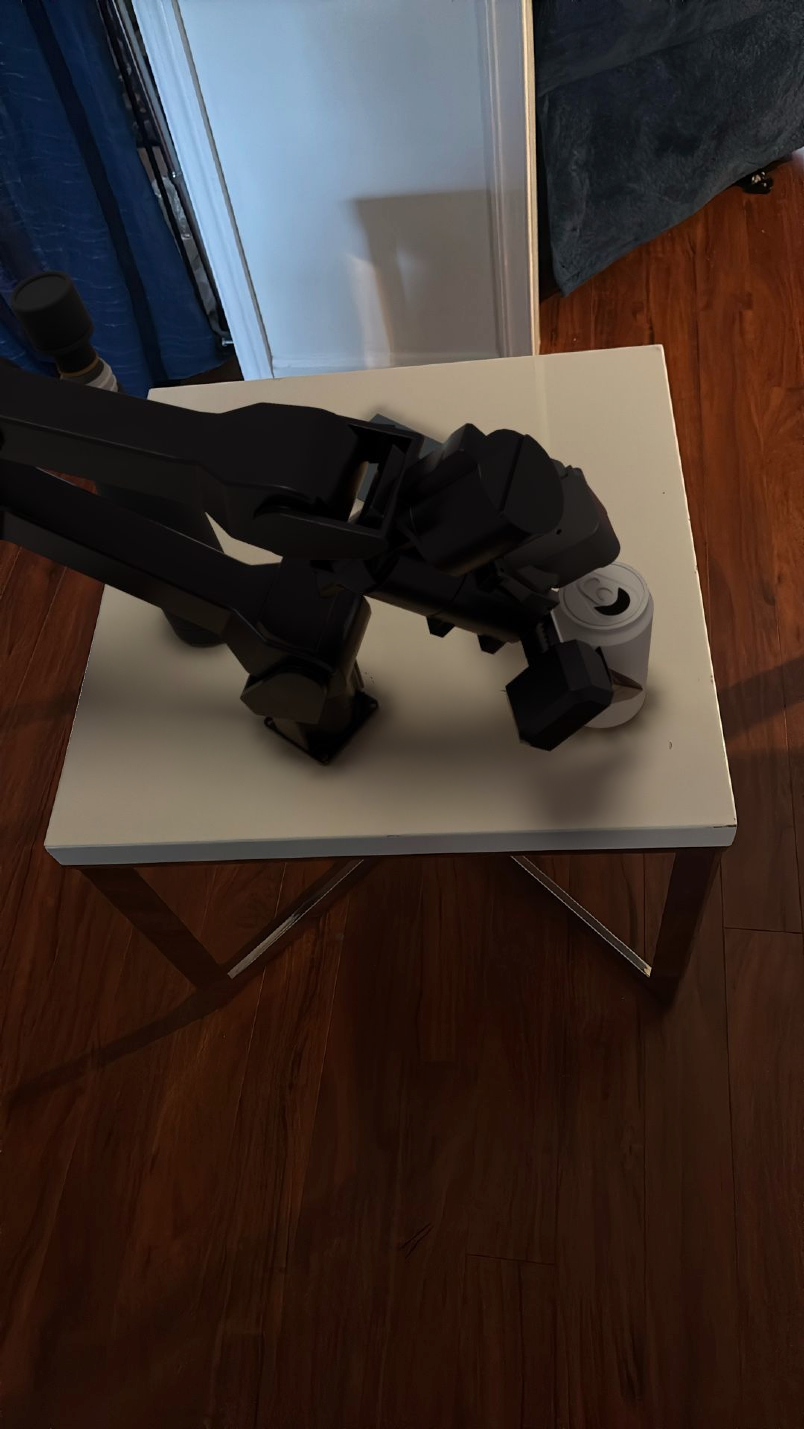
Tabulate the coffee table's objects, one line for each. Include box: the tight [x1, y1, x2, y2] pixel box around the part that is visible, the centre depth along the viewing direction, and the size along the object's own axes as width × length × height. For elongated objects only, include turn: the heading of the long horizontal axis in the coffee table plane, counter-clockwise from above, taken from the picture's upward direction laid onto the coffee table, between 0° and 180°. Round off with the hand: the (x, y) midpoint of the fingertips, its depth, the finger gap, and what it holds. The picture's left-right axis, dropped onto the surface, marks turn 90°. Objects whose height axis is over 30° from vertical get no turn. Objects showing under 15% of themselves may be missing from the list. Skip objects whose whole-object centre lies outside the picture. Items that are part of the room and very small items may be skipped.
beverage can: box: [553, 560, 655, 729], centre depth 71 cm, size 6×6×12 cm
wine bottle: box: [8, 269, 225, 646], centre depth 73 cm, size 6×6×30 cm
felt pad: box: [356, 413, 444, 503], centre depth 92 cm, size 9×9×1 cm
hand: (616, 637), depth 70 cm, fingers open, 9 cm apart
